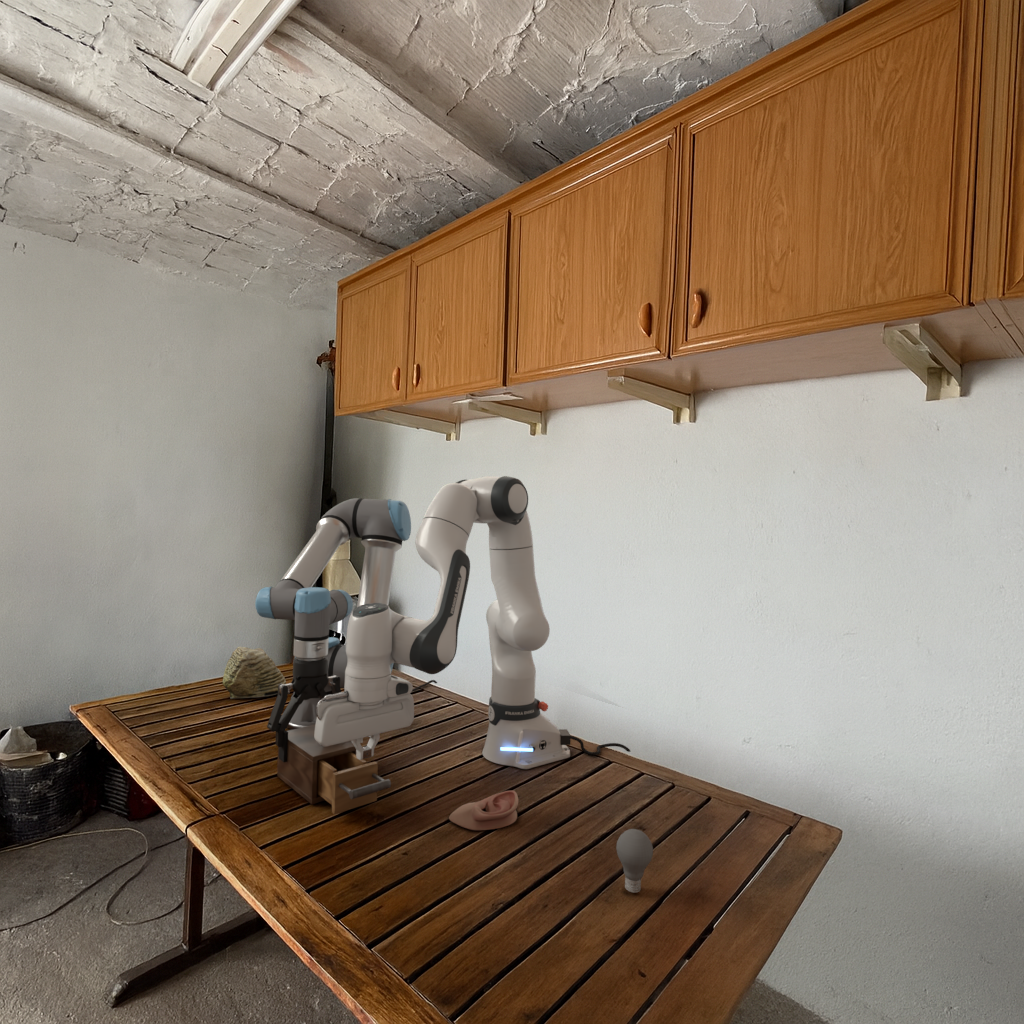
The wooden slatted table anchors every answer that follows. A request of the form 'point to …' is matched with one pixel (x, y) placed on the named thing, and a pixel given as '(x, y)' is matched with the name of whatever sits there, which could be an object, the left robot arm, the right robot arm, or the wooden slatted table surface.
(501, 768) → the wooden slatted table surface
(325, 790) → the drawer
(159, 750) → the wooden slatted table surface
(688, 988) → the wooden slatted table surface
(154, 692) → the wooden slatted table surface
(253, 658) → the fossil
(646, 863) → the light bulb
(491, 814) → the anatomical model
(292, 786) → the cabinet
